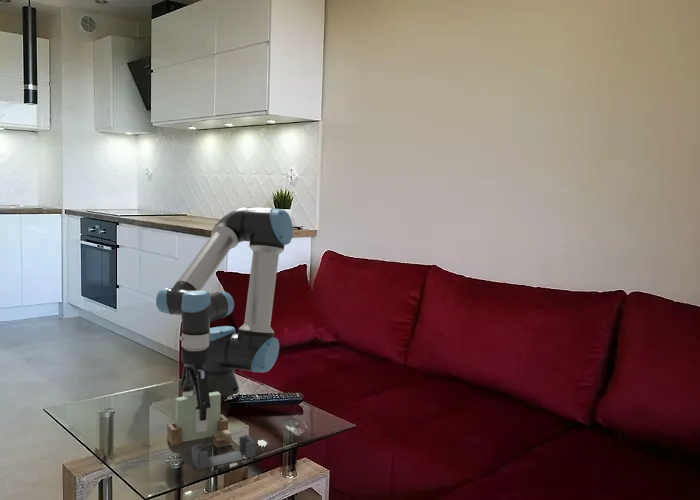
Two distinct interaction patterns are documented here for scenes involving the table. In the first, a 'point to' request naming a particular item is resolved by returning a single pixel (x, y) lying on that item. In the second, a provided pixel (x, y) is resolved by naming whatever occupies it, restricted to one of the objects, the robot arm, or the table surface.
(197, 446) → the display stand
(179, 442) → the rack
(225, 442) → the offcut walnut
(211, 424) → the sheet
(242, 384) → the table surface
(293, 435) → the table surface
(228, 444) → the offcut birch
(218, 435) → the offcut mdf
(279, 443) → the table surface
